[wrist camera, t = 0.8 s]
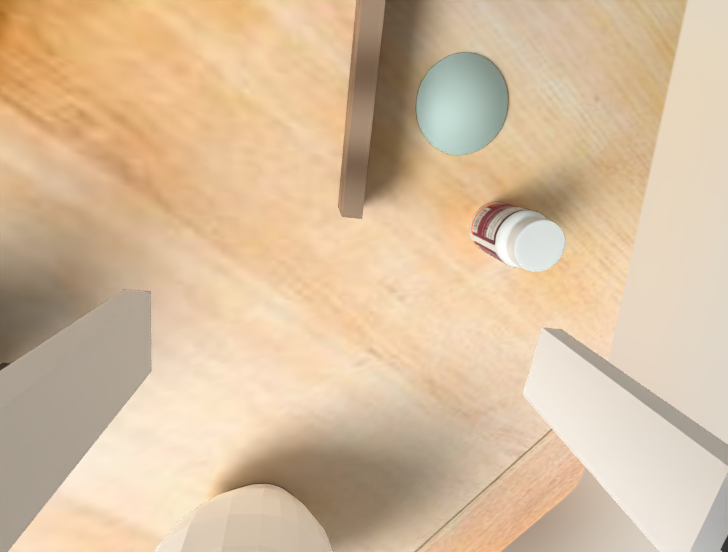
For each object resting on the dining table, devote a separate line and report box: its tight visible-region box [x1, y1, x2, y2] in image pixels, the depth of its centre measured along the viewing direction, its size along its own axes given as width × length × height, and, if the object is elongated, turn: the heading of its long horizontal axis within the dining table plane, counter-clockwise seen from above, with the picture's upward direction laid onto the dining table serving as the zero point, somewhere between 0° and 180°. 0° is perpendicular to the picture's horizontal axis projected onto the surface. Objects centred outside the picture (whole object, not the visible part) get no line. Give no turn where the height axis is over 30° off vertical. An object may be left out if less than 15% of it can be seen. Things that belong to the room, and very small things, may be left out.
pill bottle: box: [470, 202, 565, 272], centre depth 33 cm, size 5×5×8 cm
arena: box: [338, 0, 386, 219], centre depth 30 cm, size 21×18×6 cm
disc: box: [416, 53, 508, 155], centre depth 33 cm, size 8×8×1 cm
